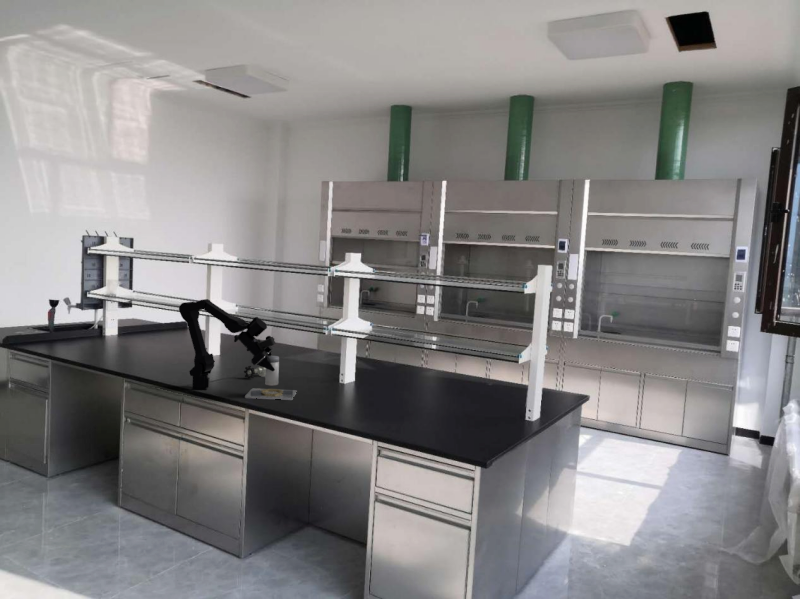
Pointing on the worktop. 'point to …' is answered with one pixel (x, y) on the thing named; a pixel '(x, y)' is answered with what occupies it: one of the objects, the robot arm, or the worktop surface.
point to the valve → (255, 371)
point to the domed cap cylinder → (272, 376)
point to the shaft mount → (271, 394)
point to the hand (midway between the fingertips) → (275, 369)
